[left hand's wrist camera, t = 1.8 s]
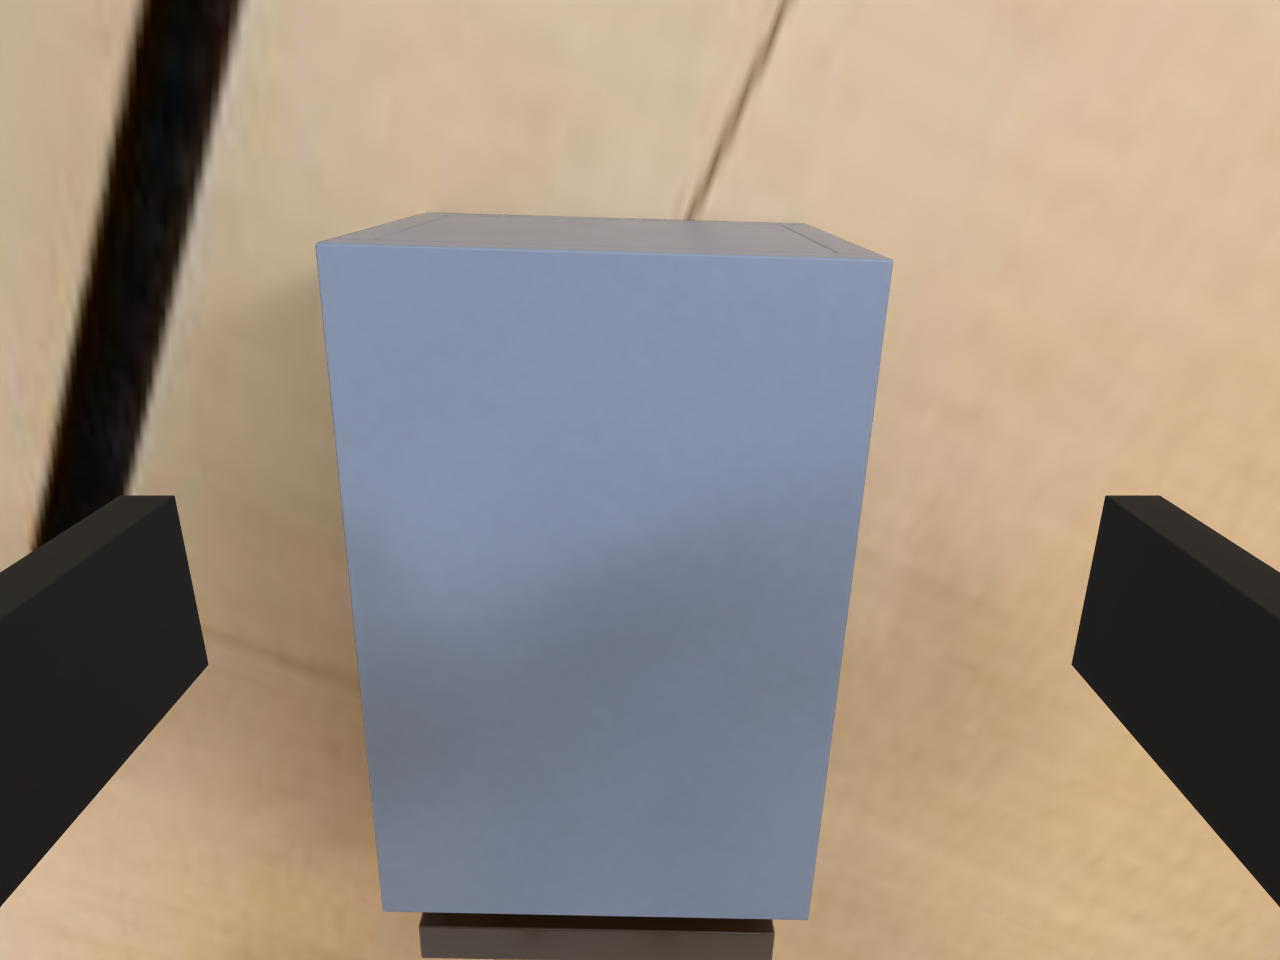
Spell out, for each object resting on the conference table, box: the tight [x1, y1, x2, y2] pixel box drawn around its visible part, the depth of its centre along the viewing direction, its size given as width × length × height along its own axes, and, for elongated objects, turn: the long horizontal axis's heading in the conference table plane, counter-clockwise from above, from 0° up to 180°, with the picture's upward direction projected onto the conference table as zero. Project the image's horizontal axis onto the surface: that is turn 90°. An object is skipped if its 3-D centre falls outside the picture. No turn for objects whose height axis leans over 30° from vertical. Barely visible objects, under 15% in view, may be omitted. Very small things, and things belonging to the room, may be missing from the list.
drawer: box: [419, 912, 775, 960], centre depth 26 cm, size 21×10×7 cm, turn 179°
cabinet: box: [315, 213, 893, 920], centre depth 24 cm, size 17×11×9 cm, turn 179°
